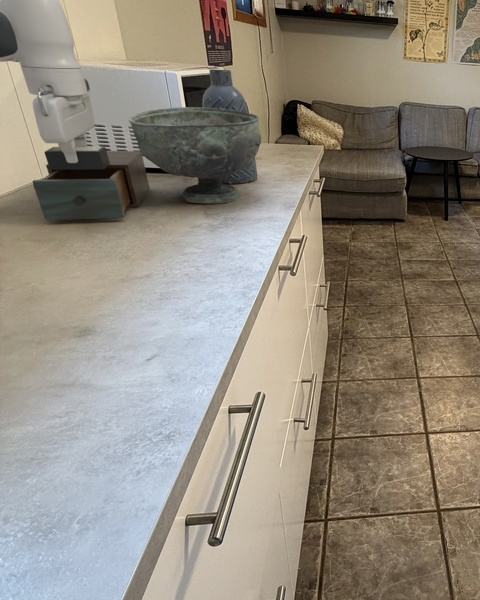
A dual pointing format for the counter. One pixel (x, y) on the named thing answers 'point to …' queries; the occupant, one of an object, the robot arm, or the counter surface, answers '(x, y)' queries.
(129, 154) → the cabinet
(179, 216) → the counter surface
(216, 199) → the decorative bowl
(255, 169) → the vase
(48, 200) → the drawer
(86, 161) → the dark grey block
